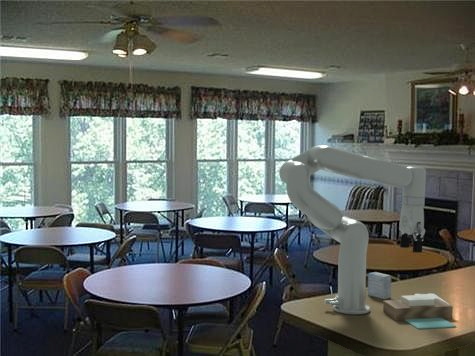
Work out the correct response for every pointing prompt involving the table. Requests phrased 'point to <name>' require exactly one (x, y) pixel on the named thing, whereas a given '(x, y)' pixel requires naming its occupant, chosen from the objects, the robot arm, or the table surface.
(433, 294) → the smartphone
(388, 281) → the medicine box
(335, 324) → the table surface
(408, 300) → the white box
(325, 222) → the robot arm
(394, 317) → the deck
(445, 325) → the mat
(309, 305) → the table surface
